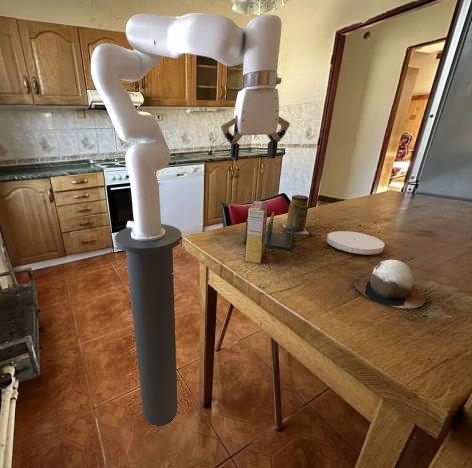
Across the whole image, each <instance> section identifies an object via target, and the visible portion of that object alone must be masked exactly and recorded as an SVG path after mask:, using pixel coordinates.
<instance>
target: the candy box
mask: <svg viewBox="0 0 472 468" xmlns="http://www.w3.org/2000/svg"><path fill="white" fill-rule="evenodd" d="M268 209H269V202H268V201H259V200H257V201H255V200H254V201H253V202H252V204H251V206H250V207H249V208H248V217H247V218H248V231H247V244H246V250H245V262H247V263H254V264H259V265H260V264H261V262H262V260H263V256H264V253H265V248H266V247H265V235H266V231H267V222H268V221H267V220H268Z"/></svg>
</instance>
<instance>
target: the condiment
mask: <svg viewBox="0 0 472 468" xmlns="http://www.w3.org/2000/svg"><path fill="white" fill-rule="evenodd" d="M308 212H309V196H307V195H301V194H295V195H292V196H291V200H290V203H289V206H288V211H287V217H286V218H287V219H286V224H282V227H283V229H284V230H285V233H287V234H291V231H292V224H293V218H294V214H296V222H295V230H294V235H297V234H299V235H310V233H309V231H308V230H307V229H306V228H305V227H306V225H307V217H308Z"/></svg>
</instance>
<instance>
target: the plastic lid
mask: <svg viewBox="0 0 472 468" xmlns="http://www.w3.org/2000/svg"><path fill="white" fill-rule="evenodd" d="M326 243H328V245H329V246H331V247H333V248H335V249H338V250H341V251H344V252H348V253H352V254H358V255H377V254H380V253H383V252H384V249H385V246H386V245H385V242H384V241H383V240H382V239H379V238H377V237H375V236H373V235H369V234H366V233H362V232H357V231H348V230H338V231H331V232H329V233H328V234H327V235H326Z"/></svg>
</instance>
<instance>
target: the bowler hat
mask: <svg viewBox="0 0 472 468" xmlns="http://www.w3.org/2000/svg"><path fill="white" fill-rule="evenodd" d="M413 277H414V276H413V273H412V269H411V268H410V266H409V265H408V264H406V262H403V261H401V260H398V259H386V260H381V261H379V263H377V265H376V266H374V267H373V271H372V273H365V274H361V275H358V276H356V277H355V278H354V280H353V285H354V287H355V288H356V290H357V291H358V292H359V293H360V294H362V295H363V296H365V297H366V298H368V299H370V300H371V301H374V302H376V303H378V304H381V305H385V306H389V307H393V308H399V309H416V308H419V307H422V306H423V305H425V303H426V297H425V296H424V294H423V293H422V292H421V291H420V289H418V288H416V287H415V286H414V285H413V283H414V278H413Z"/></svg>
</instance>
